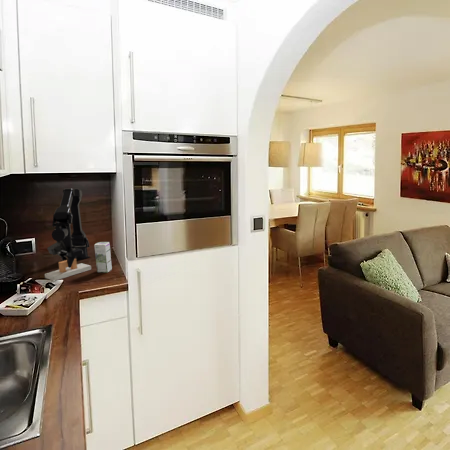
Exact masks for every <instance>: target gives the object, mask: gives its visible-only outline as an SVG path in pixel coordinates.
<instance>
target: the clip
mask: <svg viewBox="0 0 450 450" xmlns="http://www.w3.org/2000/svg"><path fill="white" fill-rule="evenodd" d="M77 264H78V261H77V259H74V261H73V264H72V266H71V269H77ZM67 267H68V263H67V260H65V261H63V260H62V261H58V270H59V272H61V273H63V272H66V268H67Z"/></svg>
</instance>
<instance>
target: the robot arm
mask: <svg viewBox="0 0 450 450" xmlns="http://www.w3.org/2000/svg"><path fill="white" fill-rule="evenodd" d="M82 197H83V191H82V189H80V188H73V187H72V188H67V187H66V188H64V189H62V196H61V198H62V199H61V201H60V204H59V207H56V209H55V211H54V213H53V216H52V217H53V218H52V225H51V227H54V228H55V229H54V230H53V231H52V232H51V237H52V238H51V239H53V240H54V241H55V243H52V244H51V245H50V246H48V247H47V248H46V249H47V251H48V253H49V254H50V255H53V256H55V255H57V256H59V257H60V258H61V260H62V261H65V260H67V263H68V267H69V268H70V267H71V266H72V264H73V261H74V259H76V260H79V261H81V260H85V259H88V258H90V256H89V254H88V248H90V242H89V239H88V237H87V235H86V233H85V231H84V230H83V228H82V227H83V226H82V219H81V209H80V204H81V203H80V202H81V201H82ZM71 225H72V229H71Z"/></svg>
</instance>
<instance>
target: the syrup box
mask: <svg viewBox="0 0 450 450" xmlns="http://www.w3.org/2000/svg"><path fill="white" fill-rule="evenodd" d="M94 254H95V255H94V256H95V263H96V264H95V266H96V272H97V273H109V272H111V271H112V270H113V266H112V258H111V257H112V255H111V245H110V241H99V242H98V241H97V242H96V243H95V244H94Z"/></svg>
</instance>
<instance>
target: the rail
mask: <svg viewBox="0 0 450 450" xmlns="http://www.w3.org/2000/svg"><path fill="white" fill-rule="evenodd" d="M91 270H92V265H89V264H85V263H82V262H81V263H77V269H71V267H70V268H69V267H66V272H63V273H61V272H59V269H57V270H52V271H50V272H47V273H44V279H47V280H50V281H53V280H56V281H59V280H63V279H65V278H69V277H71V276H75V275H78V274H80V273H81V274H82V273H84V272H87V271H91Z"/></svg>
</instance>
